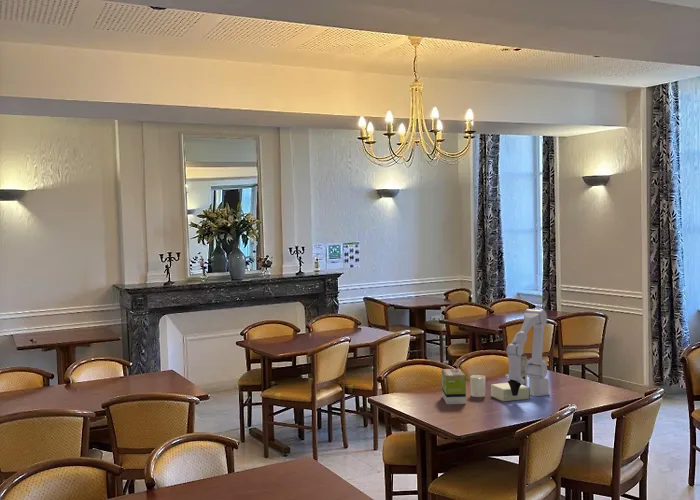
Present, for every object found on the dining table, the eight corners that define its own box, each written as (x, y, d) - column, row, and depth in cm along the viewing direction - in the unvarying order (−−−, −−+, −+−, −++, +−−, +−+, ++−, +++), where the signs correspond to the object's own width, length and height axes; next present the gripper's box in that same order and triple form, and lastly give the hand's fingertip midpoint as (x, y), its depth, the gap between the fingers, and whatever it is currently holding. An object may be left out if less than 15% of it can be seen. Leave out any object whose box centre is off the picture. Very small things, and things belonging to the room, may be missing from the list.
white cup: (485, 397, 347) (485, 378, 347) (470, 397, 349) (469, 377, 348) (485, 394, 355) (485, 375, 354) (470, 393, 356) (470, 374, 356)
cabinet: (514, 393, 355) (514, 382, 355) (527, 398, 344) (527, 386, 344) (491, 395, 351) (491, 384, 351) (503, 401, 340) (503, 389, 340)
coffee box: (509, 380, 385) (508, 352, 384) (519, 379, 386) (519, 351, 386) (516, 384, 376) (516, 355, 376) (527, 383, 378) (527, 354, 377)
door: (529, 398, 344) (529, 387, 344) (531, 398, 342) (531, 388, 342) (503, 400, 340) (503, 389, 340) (505, 401, 338) (505, 390, 338)
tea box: (441, 397, 350) (441, 368, 350) (461, 396, 350) (460, 368, 350) (446, 404, 335) (445, 374, 335) (466, 404, 335) (466, 374, 335)
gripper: (499, 365, 342) (500, 392, 343) (515, 371, 329) (515, 399, 329) (512, 364, 345) (512, 391, 345) (528, 370, 331) (528, 398, 331)
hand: (514, 395), depth 337 cm, fingers closed
